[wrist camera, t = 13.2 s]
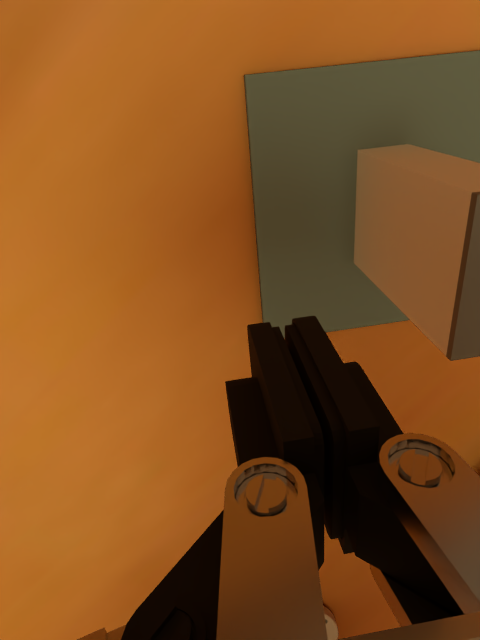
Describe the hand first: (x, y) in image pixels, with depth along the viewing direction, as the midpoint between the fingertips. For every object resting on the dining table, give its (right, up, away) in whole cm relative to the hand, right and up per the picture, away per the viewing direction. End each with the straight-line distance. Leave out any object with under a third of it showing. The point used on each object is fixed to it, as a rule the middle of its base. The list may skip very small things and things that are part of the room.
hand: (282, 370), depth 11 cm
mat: (+8, +8, +13) cm, 17 cm away
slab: (+6, +7, +12) cm, 16 cm away
